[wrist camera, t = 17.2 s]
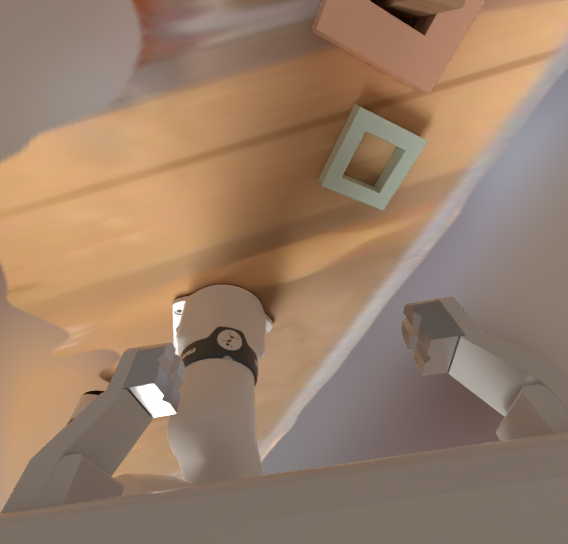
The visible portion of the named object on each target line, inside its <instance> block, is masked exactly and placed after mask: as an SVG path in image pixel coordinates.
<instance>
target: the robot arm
mask: <svg viewBox="0 0 568 544" xmlns="http://www.w3.org/2000/svg"><path fill="white" fill-rule="evenodd" d="M179 309H180V310H179ZM172 312H173V344H172V343H164V344H157V345H149V346H142V347H136V348H129V349H127V350H126V351H125V352H124V353H123V355H122V357H121V359H120V362H119V364H118V366H117V368H116V371H115V373H114V375H113V377H112V379H111V382H110V384H109V386H108V388H107V391H106V392H103V393H101V394H100V395H99V396H98V397H96V398H95V399H94V400H93V401H92V402H91V403H90V404H89V405H88V406H87V407H86V408H85V409H84V410H83V411H82V412H80V413H79V414H78V415H77V416H76V417H75V418H74V419H73V420H72V421H71V422H70V423H69V424H68V425H67V426H66V427H65V428H63V430H61V431H60V432H59V433H58V434H57V435H56V436H55V437H54V438H53V439H52V440H51V441H50V442H49V443H47V444H46V446H45V447H43V448H42V449H41V450H40V451H39V452H38V453H37V454H36V455H35V456H34V457H33V458H32V459H31V460H30V461H29V463H28V465H27V467H26V469H25V470H24V472H23V474H22V476H21V478H20V480H19V481H18V483H17V485H16V487H15V488H14V490H13V492H12V494H11V495H10V497H9V499H8V501H7V503H6V504H5V506H4V508H3V510H2V512H1V513H0V544H568V372H567V371H565V370H563V369H561V368H559V367H557V366H555V365H553V364H551V363H549V362H547V361H545V360H543V359H541V358H539V357H537V356H535V355H533V354H531V353H529V352H527V351H525V350H523V349H521V348H519V347H517V346H515V345H513V344H511V343H509V342H507V341H505V340H503V339H501V338H499V337H497V336H495V335H492V334H491V333H489V332H485V333H483V332H482V331H481V330H480V328H479V327H478V326H477V325H476V324H475V322H474V321H473V320H472V319H471V318H470V316H469V315H468V314H467V313H466V312H465V310H464V309H463V308H462V307H461V306H460V304H459V303H458V302H457V301H456V299H455V298H453V297H446V298H440V299H436V300H435V299H434V300H428V301H422V302H416V303H410V304H406V305H405V307H404V314H405V316H406V318H405V319H404V320H403V321H402V333H403V337H404V340H405V343H406V345H407V347H408V348H409V349H411V350H412V351H414V352H415V354H414V360H415V362H416V364H417V366H418V368H419V370H420V372H421V374H422V375H431V374H440V373H448V372H449V374H450V375H451V376H452V377H454V378H455V379H456V380H458V381H459V382H460V383H461V384H463V385H464V386H465V387H467V388H468V389H469V390H471V391H472V392H473V393H475V394H476V395H477V396H478V397H480V398H481V399H482V400H484V401H485V402H486V403H488V404H489V405H490V406H491V407H493V408H494V409H495V410H497V411H498V412H499V413H501V414H502V415H503V416H504V419H503V421H502V422H501V424H500V425H499V427H498V429H497V431H496V434H497V436H498V437H499V439H500V441H497V442H490V443H483V444H476V445H469V446H462V447H455V448H449V449H442V450H435V451H428V452H421V453H415V454H407V455H400V456H394V457H387V458H380V459H374V460H366V461H359V462H353V463H346V464H339V465H332V466H325V467H318V468H312V469H305V470H297V471H290V472H284V473H277V474H270V475H264V471H263V467H262V463H261V459H260V455H259V450H258V445H257V438H256V430H255V393H254V387H255V385H256V383H257V376H258V361H259V360H260V359H261V358H262V357H263V356H264V355H265V345H266V335H267V333H268V332H269V331H270V330H271V329H272V327H273V322H272V320H271V319H270V318H269V317H268V316H267V315H266V314H265V312H264V309H263V306H262V304H261V302H260V301H259V299H258V298H257V297H256V296H255V295H253V294H252V293H251V292H249V291H247V290H245V289H243V288H240V287H237V286H233V285H213V286H208V287H205V288H203V289H200V290H198V291H197V292H195V293H194V294H192V295H190V296H185V297H180V298H177V299H175V300H174V301H173V305H172ZM166 415H170V417H169V421H168V425H167V435H168V441H169V444H170V447H171V449H172V451H173V453H174V455H175V456H176V458H177V460H178V462H179V464H180V467H181V470H182V473H183V477H184V480H182V479H179V478H176V477H173V476H166V475H152V474H123V475H119V476H117V477H115V478H113V477H112V475H113V473H114V472H115V471H116V469H117V468H118V467H119V465H120V464H121V462H122V461H123V460H124V458H125V457H126V455H127V454H128V453H129V451H130V450H131V449H132V447H133V446H134V444H135V443H136V442H137V440H138V439H139V437H140V436H141V435H142V433H143V432H144V431H145V429H146V428H147V426H148V425H149V424H150V422H151V421H152V418H155V417H160V416H166Z"/></svg>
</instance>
